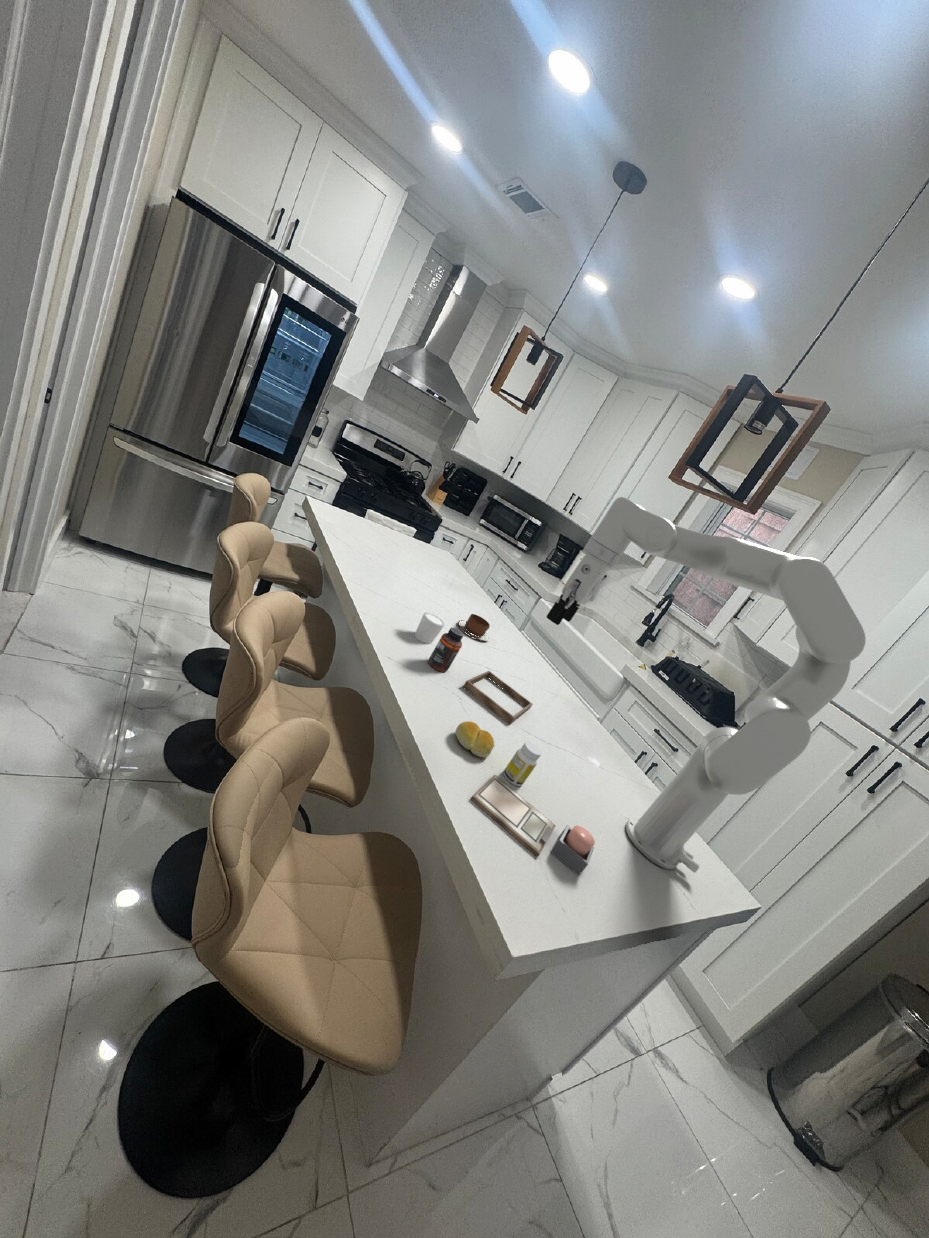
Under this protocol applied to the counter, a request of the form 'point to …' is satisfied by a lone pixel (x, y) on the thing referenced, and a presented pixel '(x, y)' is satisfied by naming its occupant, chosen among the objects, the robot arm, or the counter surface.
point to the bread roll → (475, 739)
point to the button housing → (570, 853)
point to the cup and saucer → (476, 626)
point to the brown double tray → (514, 814)
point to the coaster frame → (492, 704)
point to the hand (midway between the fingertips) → (558, 619)
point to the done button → (580, 840)
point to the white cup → (429, 628)
